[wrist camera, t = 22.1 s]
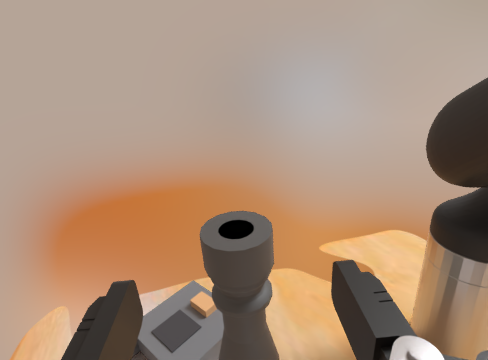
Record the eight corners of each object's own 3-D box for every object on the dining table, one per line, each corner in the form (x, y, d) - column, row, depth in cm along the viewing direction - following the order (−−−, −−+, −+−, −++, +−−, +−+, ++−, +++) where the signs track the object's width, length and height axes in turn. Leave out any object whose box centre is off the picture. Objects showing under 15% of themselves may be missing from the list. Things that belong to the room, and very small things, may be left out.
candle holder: (215, 433, 33) (179, 238, 23) (245, 383, 38) (227, 203, 28) (265, 471, 30) (248, 264, 20) (292, 411, 34) (289, 219, 24)
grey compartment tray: (195, 293, 53) (192, 274, 52) (246, 329, 46) (245, 309, 44) (62, 395, 39) (51, 373, 37) (105, 473, 31) (94, 450, 30)
